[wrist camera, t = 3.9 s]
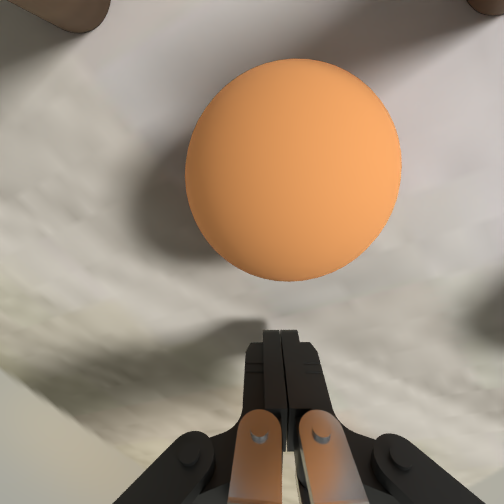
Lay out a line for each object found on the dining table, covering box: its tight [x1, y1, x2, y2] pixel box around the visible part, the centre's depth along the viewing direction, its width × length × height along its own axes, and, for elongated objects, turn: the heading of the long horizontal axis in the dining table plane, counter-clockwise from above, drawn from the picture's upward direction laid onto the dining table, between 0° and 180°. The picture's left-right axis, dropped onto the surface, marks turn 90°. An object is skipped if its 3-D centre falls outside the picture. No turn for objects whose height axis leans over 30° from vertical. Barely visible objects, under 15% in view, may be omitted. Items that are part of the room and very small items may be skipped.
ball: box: [185, 59, 402, 282], centre depth 7 cm, size 6×6×6 cm
